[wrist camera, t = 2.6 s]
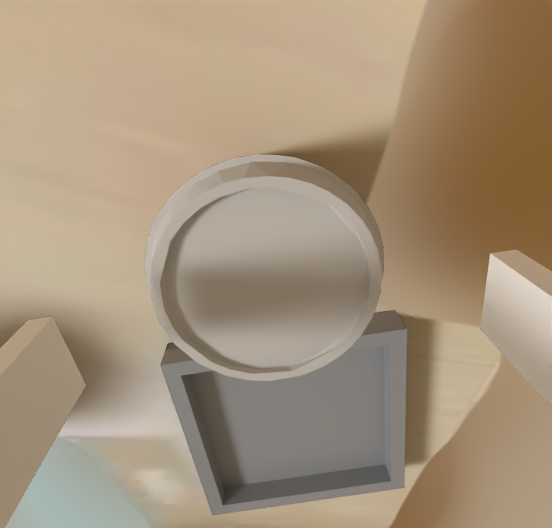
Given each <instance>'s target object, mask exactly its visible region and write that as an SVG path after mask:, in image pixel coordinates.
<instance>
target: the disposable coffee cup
mask: <svg viewBox="0 0 552 528" xmlns="http://www.w3.org/2000/svg"><path fill="white" fill-rule="evenodd" d="M383 255H384V254H383V244H382V240H381V236H380V232H379V228H378V225H377V223H376V221H375V219H374V217H373V215H372V213H371V211H370V209H369V207H368V206H367V205H366V204H365V202H364V201H363V200H362V199H361V197H360V196H359V195H358V193H357V192H356V191H355V190H354V189H353V188H352V187H351V186H349V185H348V184H347V183H346V182H344V181H343V180H342V179H341V178H339V177H338V176H337V175H336V174H334V173H332V172H330V171H328V170H327V169H325V168H323V167H321V166H319V165H316V164H313V163H311V162H308V161H305V160H302V159H299V158H296V157H292V156H283V155H270V154H258V155H250V156H242V157H237V158H234V159H230V160H227V161H223V162H220V163H217V164H215V165H213V166H211V167H209V168H207V169H205V170H203V171H201V172H200V173H198V174H197V175H195V176H193V177H192V178H191V179H189V180H188V181H186V182H185V183H184V184H183V185H182V186H181V187H180V188H179V189H178V190H177V191H176V192H175V193H174V194H172V195H171V196H170V198H169V199H168V201H167V202H166V204H165V205H164V207H163V208H162V210H161V211H160V212H159V214H158V215H157V217H156V219H155V222H154V224H153V226H152V229H151V231H150V234H149V238H148V242H147V247H146V252H145V275H146V280H147V285H148V290H149V294H150V296H151V300H152V303H153V305H154V308H155V311H156V314H157V317H158V320H159V322H160V324H161V325H162V327H163V328H164V330H165V331H166V332H167V334H168V335H169V337H170V338H171V340H172V341H173V342H174V344H175V345H176V346H177V347H179V348H180V349H181V350H182V351H183V352H185V353H186V354H187V355H188V356H190V357H191V358H192V359H193V360H195V361H196V362H197V363H198V364H201V365H203V366H205V367H207V368H209V369H212V370H214V371H216V372H218V373H221V374H223V375H225V376H230V377H235V378H240V379H245V380H252V381H272V380H279V379H285V378H290V377H296V376H301V375H304V374H307V373H309V372H312V371H314V370H316V369H319V368H321V367H323V366H325V365H327V364H328V363H330V362H331V361H333V360H335V359H336V358H338V357H339V356H341V355H342V354H343V353H344V352H345V351H346V350H348V349H349V348H350V347H351V346H352V345H353V344H354V343H355V342H356V341H357V339H358V338H359V337H360V336H361V335H362V333H363V332H364V330H365V328H366V327H367V325H368V324H369V322H370V321H371V319H372V317H373V315H374V312H375V309H376V306H377V302H378V299H379V296H380V293H381V280H382V276H383V272H384V259H383V258H384V256H383Z"/></svg>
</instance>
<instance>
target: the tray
mask: <svg viewBox="0 0 552 528" xmlns="http://www.w3.org/2000/svg"><path fill="white" fill-rule="evenodd" d="M160 366H161V369H162V371H163V374H164V377H165V380H166V383H167V386H168V389H169V392H170V394H171V397H172V400H173V403H174V406H175V409H176V412H177V414H178V417H179V420H180V423H181V426H182V429H183V432H184V434H185V437H186V440H187V443H188V446H189V449H190V452H191V455H192V457H193V460H194V463H195V466H196V469H197V472H198V475H199V477H200V480H201V483H202V486H203V489H204V492H205V495H206V498H207V500H208V503H209V506H210V509H211V512H212V515H218V514H225V513H232V512H239V511H246V510H253V509H260V508H267V507H274V506H281V505H288V504H295V503H302V502H309V501H315V500H322V499H329V498H336V497H343V496H350V495H357V494H364V493H371V492H378V491H385V490H392V489H399V488H404V474H405V423H406V371H407V328H406V326H405V325H404V323H403V321H402V320H401V318H400V317H399V315H398V314H397V312H396V311H395V310H393V311H386V312H380V313H374V315H373V317H372V319H371V321H370V322H369V324H368V325H367V327H366V328H365V330H364V332H363V333H362V335H361V336H360V337H359V338H358V339H357V341H356V342H355V343H354V344H353V345H352V346H351V347H350V348H349V349H348V350H346V351H345V352H344V353H343V354H342V355H341V356H339V357H338V358H336V359H335V360H333V361H331V362H330V363H328V364H327V365H325V366H323V367H321V368H319V369H316V370H314V371H312V372H309V373H307V374H304V375H301V376H296V377H290V378H285V379H279V380H272V381H252V380H245V379H240V378H235V377H230V376H225V375H223V374H221V373H218V372H216V371H214V370H212V369H209V368H207V367H205V366H203V365H201V364H198V363H197V362H196V361H195V360H193V359H192V358H191V357H190V356H188V355H187V354H186V353H185V352H183V351H182V350H181V349H180V348H179V347H177V346H176V345H175V344H174V343H170V344H167V347H166V350H165V353H164V356H163V359H162V362H161V365H160Z"/></svg>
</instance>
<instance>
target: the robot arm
mask: <svg viewBox="0 0 552 528" xmlns="http://www.w3.org/2000/svg"><path fill="white" fill-rule="evenodd" d="M480 330H481V331H482V332H483V333H484V334H485V335H486V336H487V337H488V338H489V339H490V341H491V342H492V343H493V344H494V345H495V346H496V347H497V348H498V349H499V350H500V351H501V352H502V353H503V355H504V356H505V357H506V358H507V359H508V360H509V361H510V362H511V363H512V364H513V365H514V366H515V367H516V369H517V370H518V371H519V372H520V373H521V374H522V375H523V376H524V377H525V378H526V379H527V380H528V382H530V384H532V386H533V387H534V388H535V389H536V390H537V391H538V392H539V393H540V394H541V395H542V397H543V398H544V399H545V400H546V401H547V402H548V403H549V404H550V405H551V406H552V272H551V271H550V270H548V269H547V268H545V267H543V266H542V265H540V264H539V263H537V262H535V261H534V260H532V259H530V258H529V257H527V256H526V255H524V254H523V253H521V252H519V251H518V250H510V251H504V252H497V253H491V254H490V260H489V267H488V275H487V282H486V290H485V298H484V305H483V313H482V320H481V328H480ZM85 386H86V384H85V382H84V380H83V378H82V376H81V374H80V372H79V370H78V368H77V366H76V364H75V361H74V359H73V357H72V355H71V353H70V351H69V349H68V347H67V345H66V343H65V341H64V339H63V337H62V335H61V333H60V331H59V329H58V326H57V324H56V322H55V320H54V318H53V317H47V318H40V319H33V320H27V321H26V322H25V324H24V325H23V326H22V327H21V328H20V329H19V330H18V331H17V332H16V333H15V334H14V335H13V336H12V337H11V338H10V339H9V340H8V341H7V342H6V343H5V344H4V345H3V346H2V347H1V348H0V528H5V526H6V525H7V523H8V521H9V519H10V517H11V516H12V514H13V512H14V511H15V509H16V507H17V505H18V503H19V502H20V500H21V498H22V497H23V495H24V493H25V491H26V489H27V488H28V486H29V484H30V482H31V481H32V479H33V477H34V476H35V474H36V472H37V470H38V468H39V467H40V465H41V463H42V461H43V460H44V458H45V456H46V454H47V453H48V451H49V449H50V447H51V446H52V444H53V442H54V441H55V439H56V437H57V435H58V434H59V432H60V430H61V428H62V427H63V425H64V423H65V421H66V420H67V418H68V416H69V414H70V413H71V411H72V409H73V407H74V406H75V404H76V402H77V400H78V399H79V397H80V395H81V393H82V392H83V390H84V388H85Z"/></svg>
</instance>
